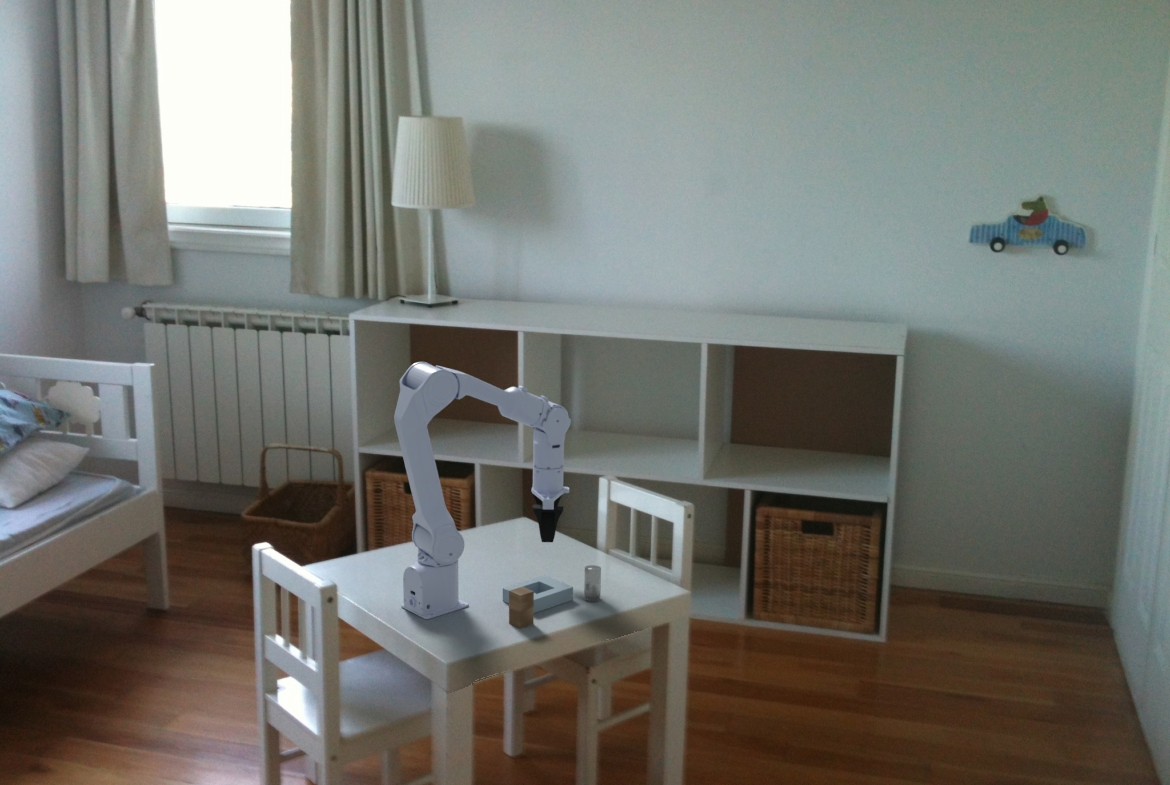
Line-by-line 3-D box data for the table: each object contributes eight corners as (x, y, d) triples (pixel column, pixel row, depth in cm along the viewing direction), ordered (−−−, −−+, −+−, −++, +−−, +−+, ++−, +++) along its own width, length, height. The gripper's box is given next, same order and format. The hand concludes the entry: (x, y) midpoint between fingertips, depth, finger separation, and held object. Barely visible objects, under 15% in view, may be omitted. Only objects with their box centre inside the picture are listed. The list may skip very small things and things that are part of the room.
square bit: (520, 628, 195) (520, 595, 194) (509, 623, 197) (509, 590, 196) (533, 624, 197) (533, 591, 196) (522, 618, 199) (522, 586, 198)
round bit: (591, 603, 206) (592, 572, 205) (580, 598, 208) (581, 567, 207) (603, 599, 208) (604, 568, 207) (592, 594, 210) (593, 564, 209)
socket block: (531, 614, 201) (531, 600, 201) (502, 600, 207) (502, 588, 206) (572, 599, 208) (573, 587, 207) (544, 587, 213) (544, 575, 213)
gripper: (571, 476, 204) (569, 547, 207) (568, 455, 219) (567, 523, 221) (531, 475, 204) (530, 547, 207) (531, 455, 218) (531, 522, 221)
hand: (547, 535), depth 214 cm, fingers open, 7 cm apart
